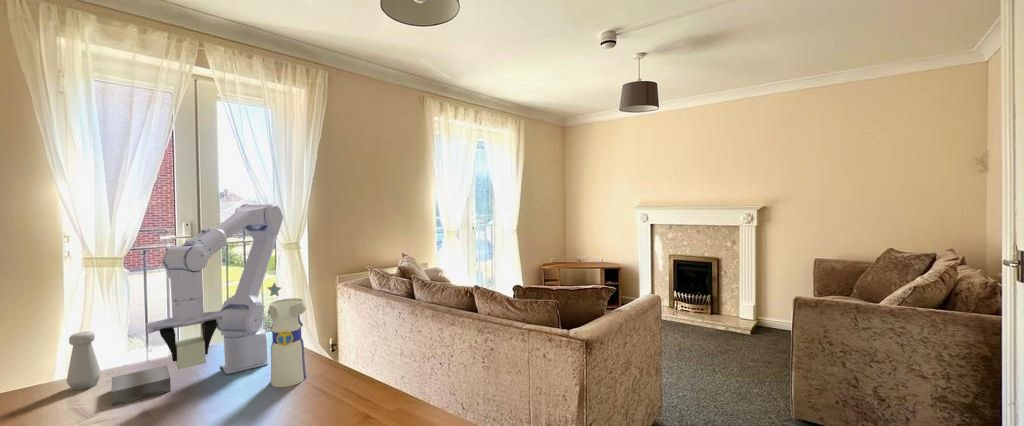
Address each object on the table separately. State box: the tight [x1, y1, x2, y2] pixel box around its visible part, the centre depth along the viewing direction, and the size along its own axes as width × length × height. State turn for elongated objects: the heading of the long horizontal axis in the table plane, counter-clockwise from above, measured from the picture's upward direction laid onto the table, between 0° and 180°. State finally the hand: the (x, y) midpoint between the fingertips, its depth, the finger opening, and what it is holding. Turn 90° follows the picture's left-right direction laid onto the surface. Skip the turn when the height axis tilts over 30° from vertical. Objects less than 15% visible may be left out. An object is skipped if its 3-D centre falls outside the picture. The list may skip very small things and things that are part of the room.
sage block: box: [175, 335, 207, 370], centre depth 98 cm, size 5×5×5 cm
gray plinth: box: [110, 365, 172, 406], centre depth 100 cm, size 10×10×3 cm
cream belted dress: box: [267, 282, 308, 388], centre depth 104 cm, size 8×9×25 cm
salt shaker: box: [66, 330, 102, 391], centre depth 102 cm, size 6×6×13 cm
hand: (190, 356), depth 98 cm, fingers closed on sage block, 5 cm apart
